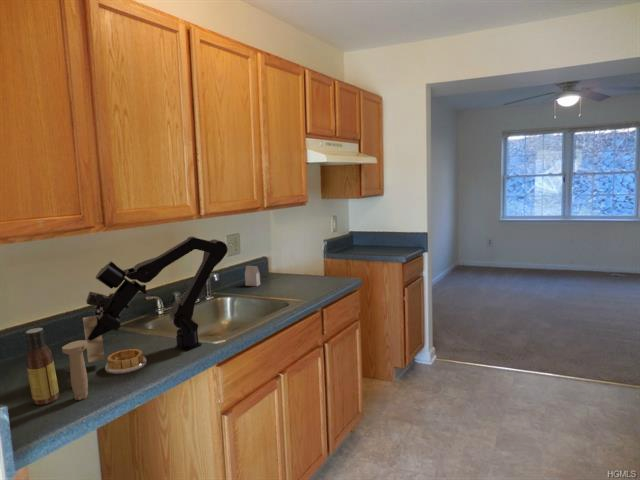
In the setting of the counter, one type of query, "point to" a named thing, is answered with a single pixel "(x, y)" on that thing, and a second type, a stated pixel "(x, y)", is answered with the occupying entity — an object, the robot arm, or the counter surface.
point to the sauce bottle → (40, 368)
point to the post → (95, 345)
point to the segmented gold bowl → (125, 361)
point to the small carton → (252, 276)
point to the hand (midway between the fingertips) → (88, 337)
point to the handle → (77, 368)
